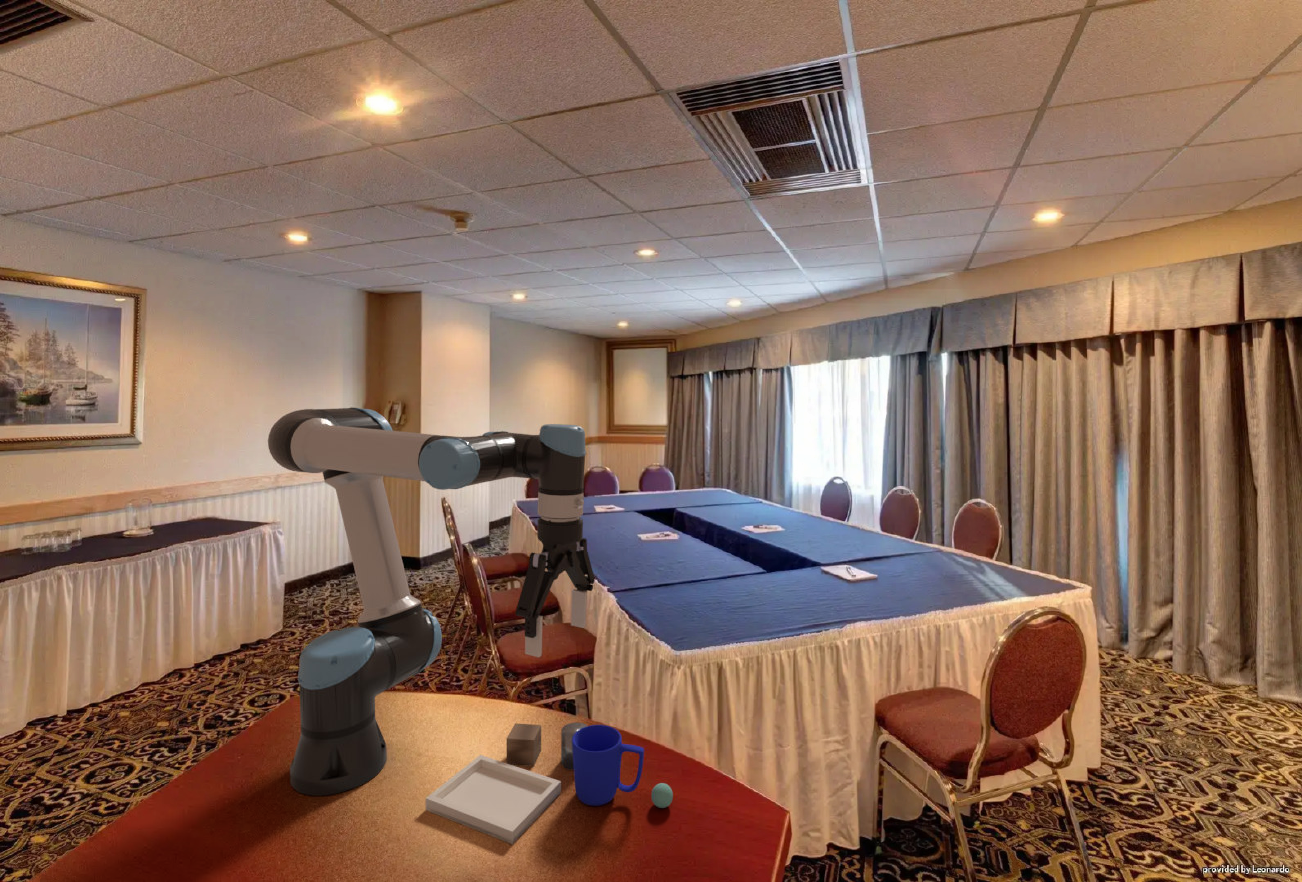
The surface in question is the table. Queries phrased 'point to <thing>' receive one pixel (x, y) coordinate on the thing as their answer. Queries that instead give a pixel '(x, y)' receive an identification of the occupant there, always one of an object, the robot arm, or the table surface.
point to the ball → (662, 795)
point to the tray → (494, 798)
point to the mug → (600, 764)
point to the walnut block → (524, 744)
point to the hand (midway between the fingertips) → (557, 639)
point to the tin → (568, 743)
